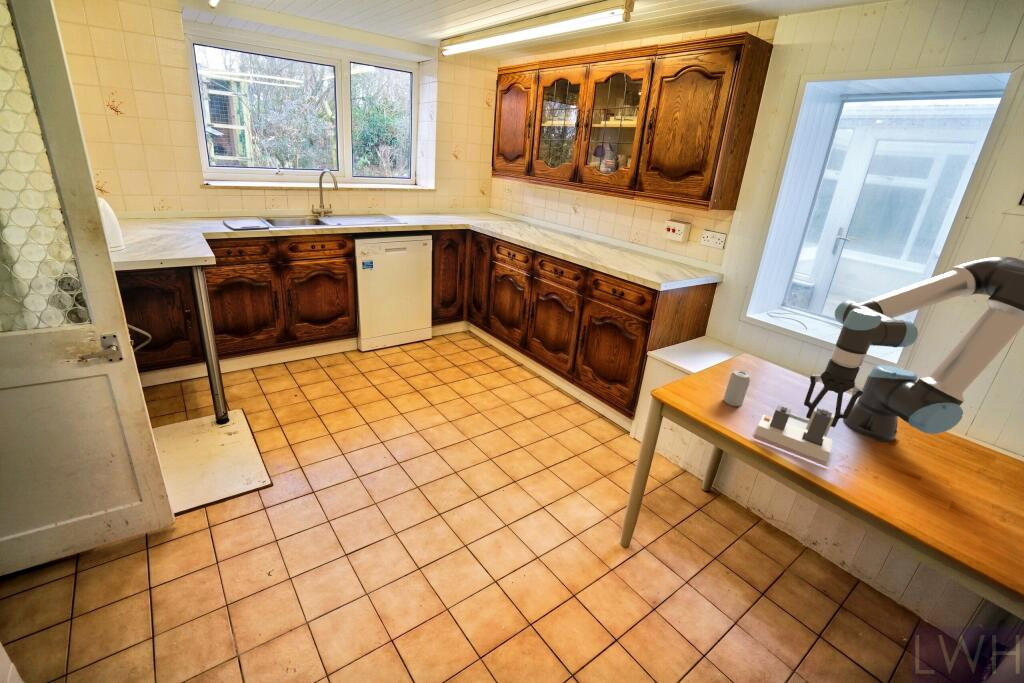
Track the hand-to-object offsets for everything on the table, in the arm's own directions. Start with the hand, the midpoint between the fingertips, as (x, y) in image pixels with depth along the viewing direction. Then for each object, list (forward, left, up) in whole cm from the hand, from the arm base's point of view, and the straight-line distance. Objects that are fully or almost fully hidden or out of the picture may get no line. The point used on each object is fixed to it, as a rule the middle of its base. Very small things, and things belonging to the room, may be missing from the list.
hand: (816, 430), depth 145 cm
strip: (+4, -3, -7) cm, 9 cm away
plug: (0, 0, -6) cm, 6 cm away
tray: (-5, -13, -7) cm, 16 cm away
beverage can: (+14, -26, -7) cm, 30 cm away
